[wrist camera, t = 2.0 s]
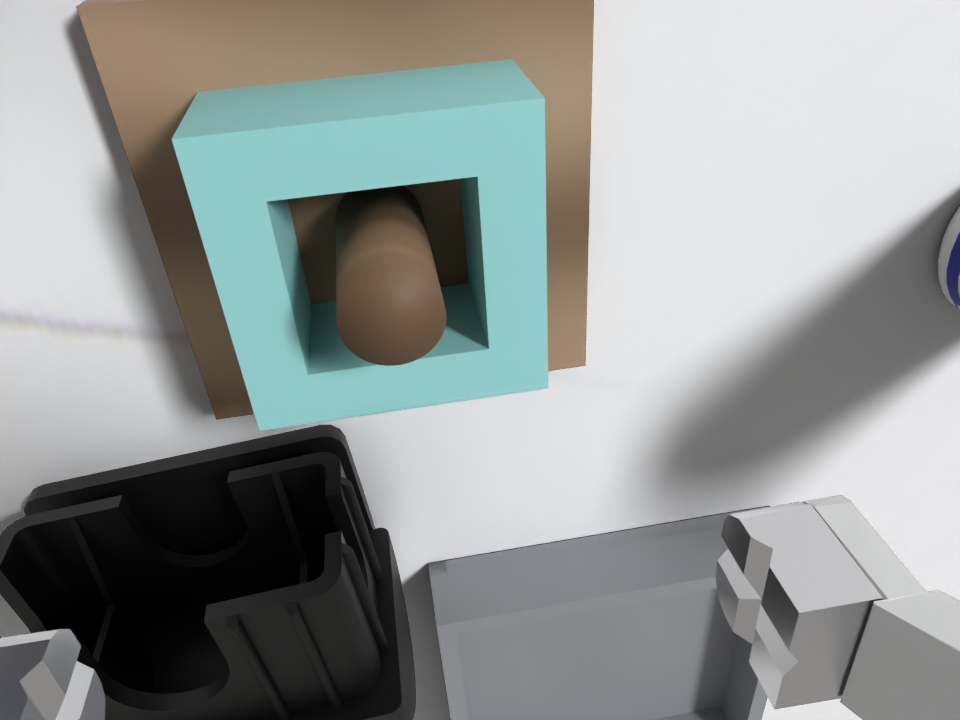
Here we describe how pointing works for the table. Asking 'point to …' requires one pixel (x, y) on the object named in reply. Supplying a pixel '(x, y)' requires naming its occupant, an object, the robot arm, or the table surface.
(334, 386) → the ring
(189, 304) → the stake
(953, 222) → the energy drink
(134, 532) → the end cap
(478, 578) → the tray
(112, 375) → the table surface
